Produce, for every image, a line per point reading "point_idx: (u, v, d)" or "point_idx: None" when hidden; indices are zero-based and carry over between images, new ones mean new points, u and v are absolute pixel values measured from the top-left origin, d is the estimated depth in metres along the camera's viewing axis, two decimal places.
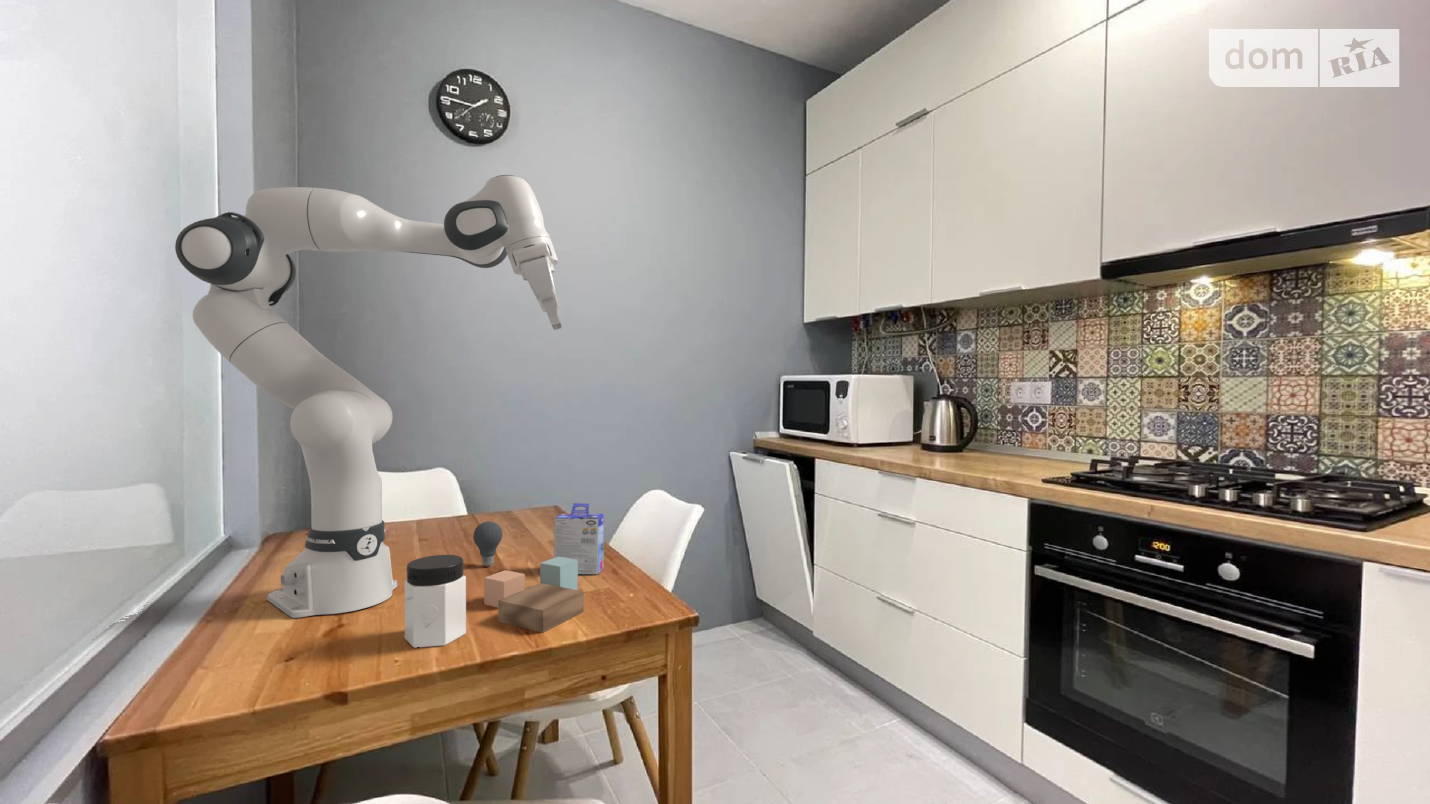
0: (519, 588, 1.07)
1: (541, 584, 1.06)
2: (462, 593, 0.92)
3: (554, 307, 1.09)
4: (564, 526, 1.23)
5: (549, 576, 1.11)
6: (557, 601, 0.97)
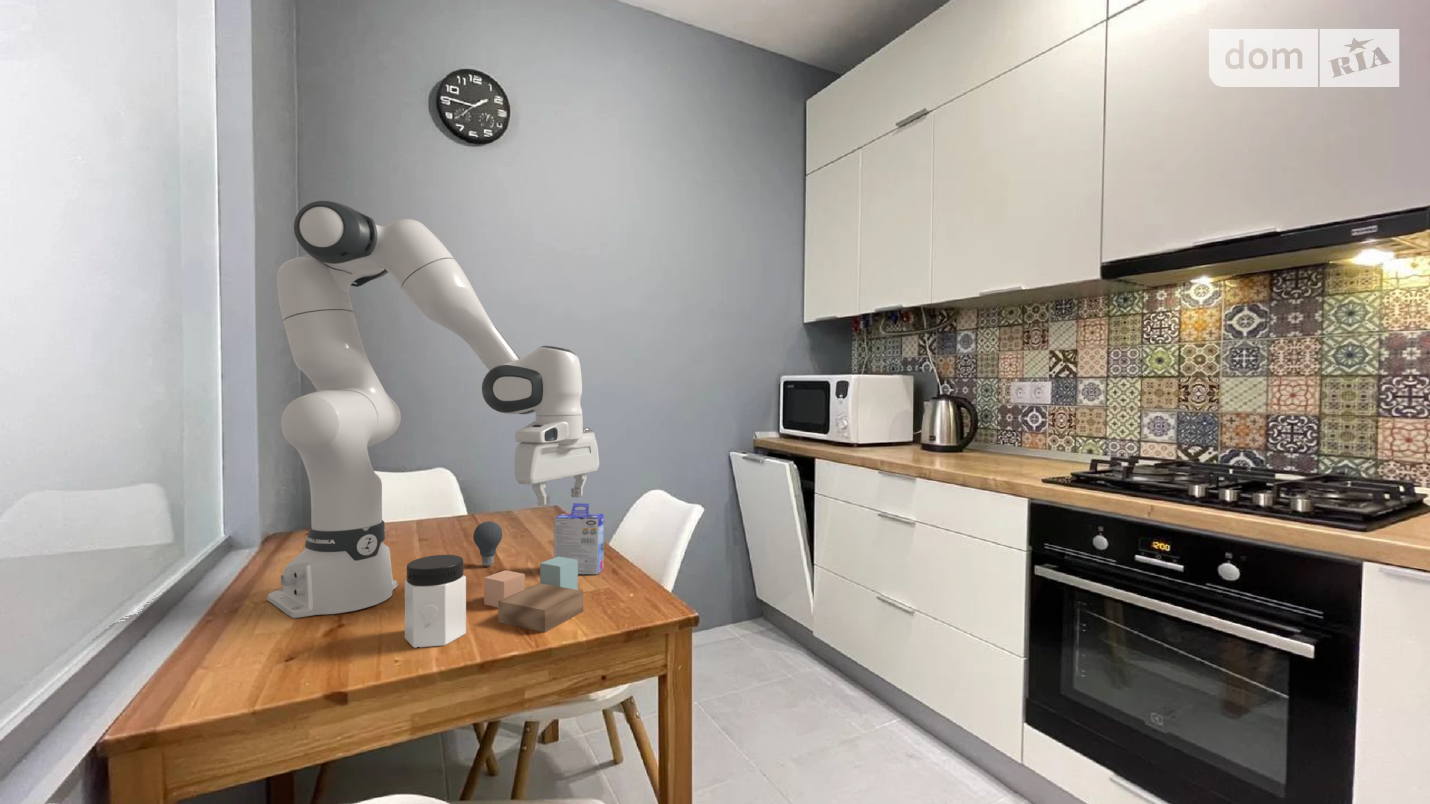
0: (519, 588, 1.07)
1: (540, 584, 1.06)
2: (462, 593, 0.92)
3: (540, 491, 1.07)
4: (564, 526, 1.23)
5: (548, 576, 1.11)
6: (558, 601, 0.98)
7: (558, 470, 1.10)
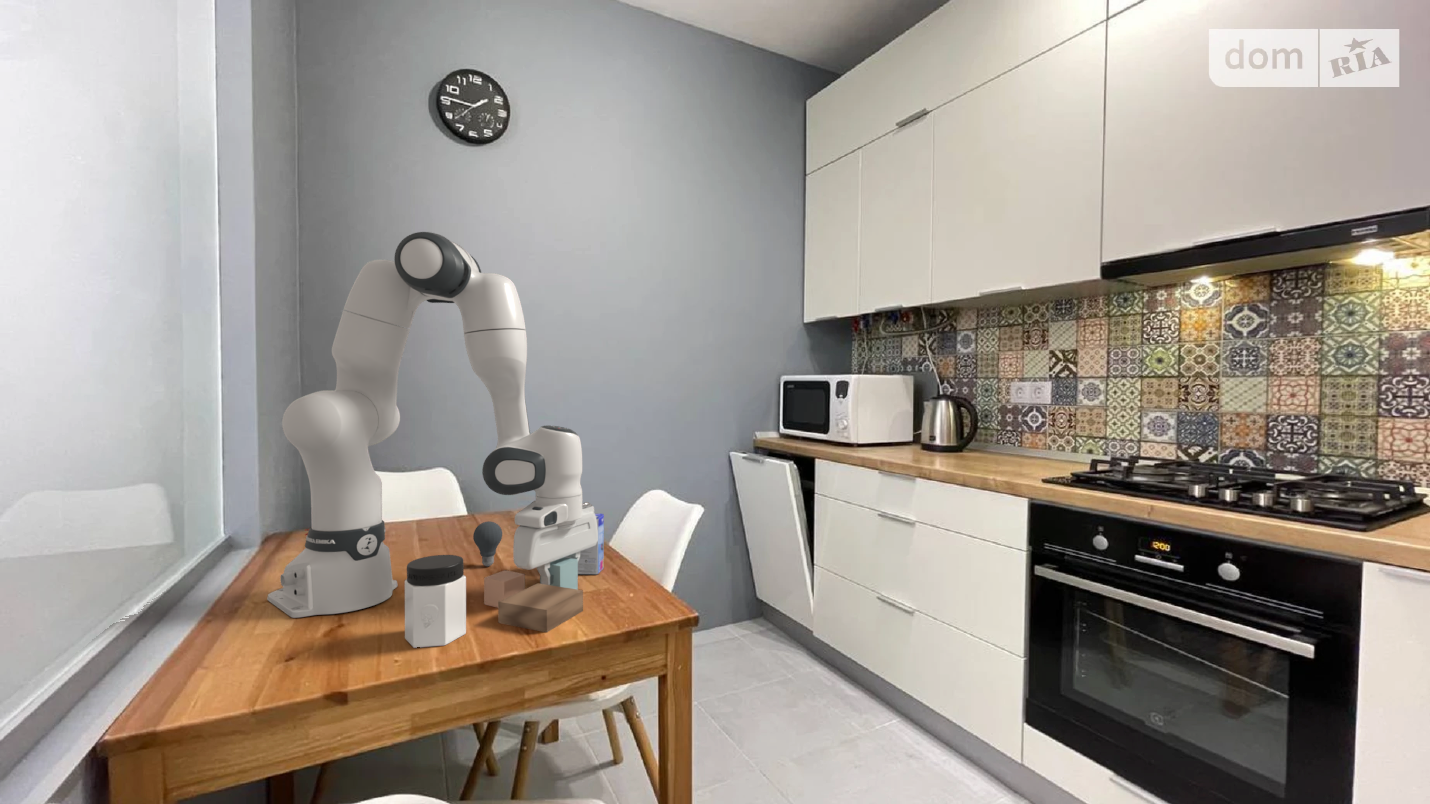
0: (519, 588, 1.07)
1: (538, 584, 1.06)
2: (462, 593, 0.92)
3: (544, 572, 1.08)
4: None
5: None
6: (559, 601, 0.98)
7: (557, 551, 1.10)
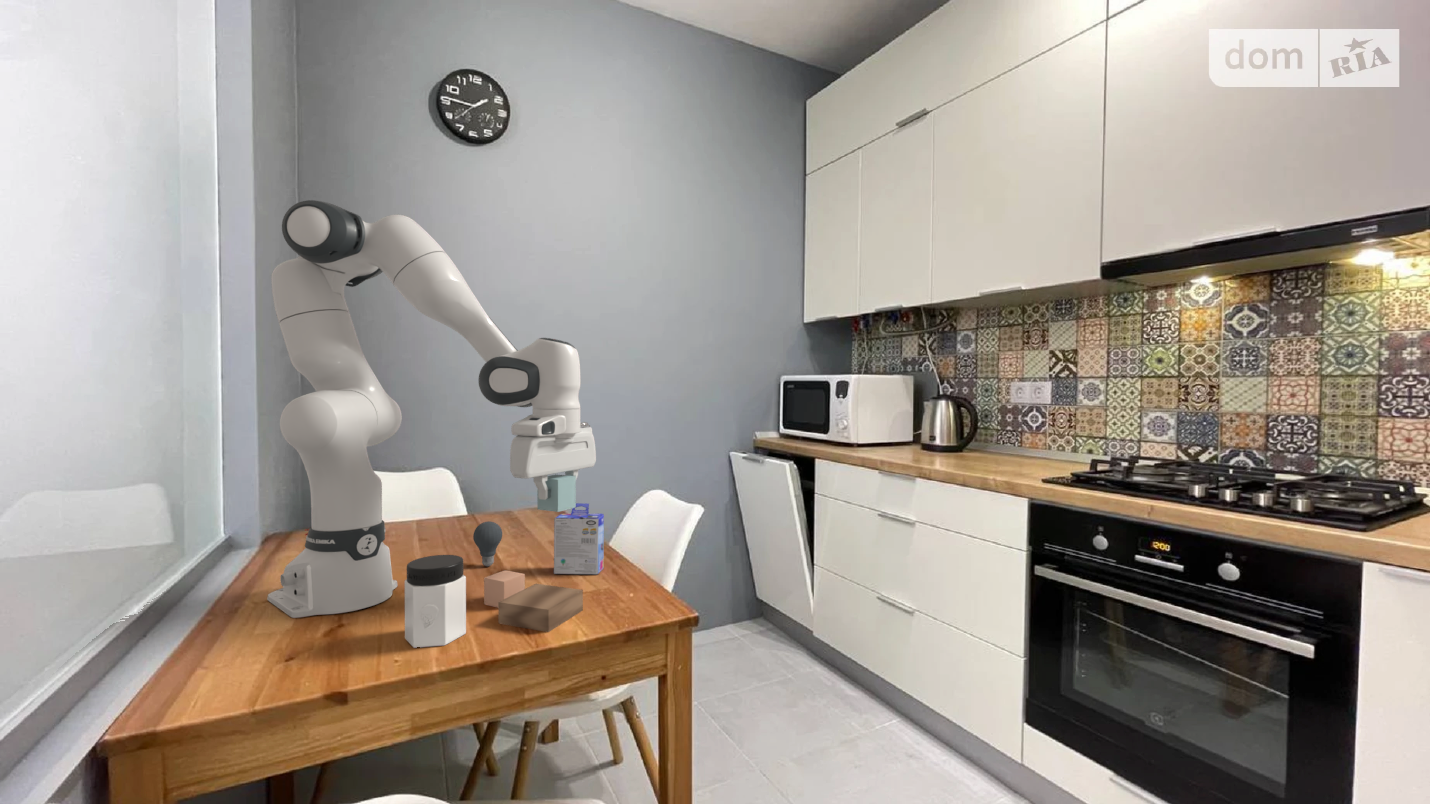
0: (519, 588, 1.07)
1: (537, 584, 1.06)
2: (462, 593, 0.92)
3: (542, 485, 1.06)
4: (564, 526, 1.23)
5: None
6: (560, 601, 0.98)
7: (555, 464, 1.08)
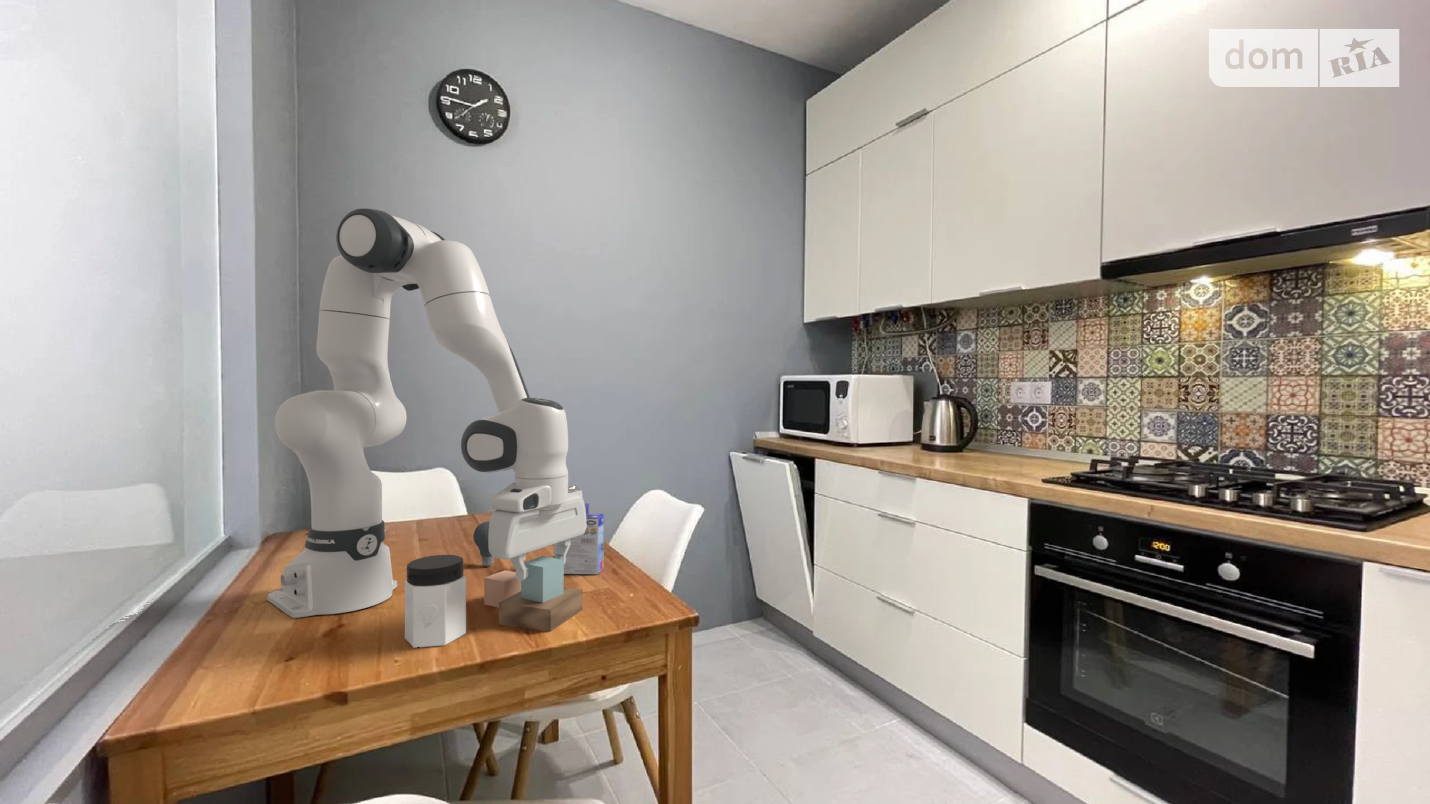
0: (519, 588, 1.07)
1: None
2: (462, 593, 0.92)
3: (519, 564, 0.95)
4: None
5: (530, 578, 0.98)
6: (561, 601, 0.98)
7: (539, 539, 0.97)
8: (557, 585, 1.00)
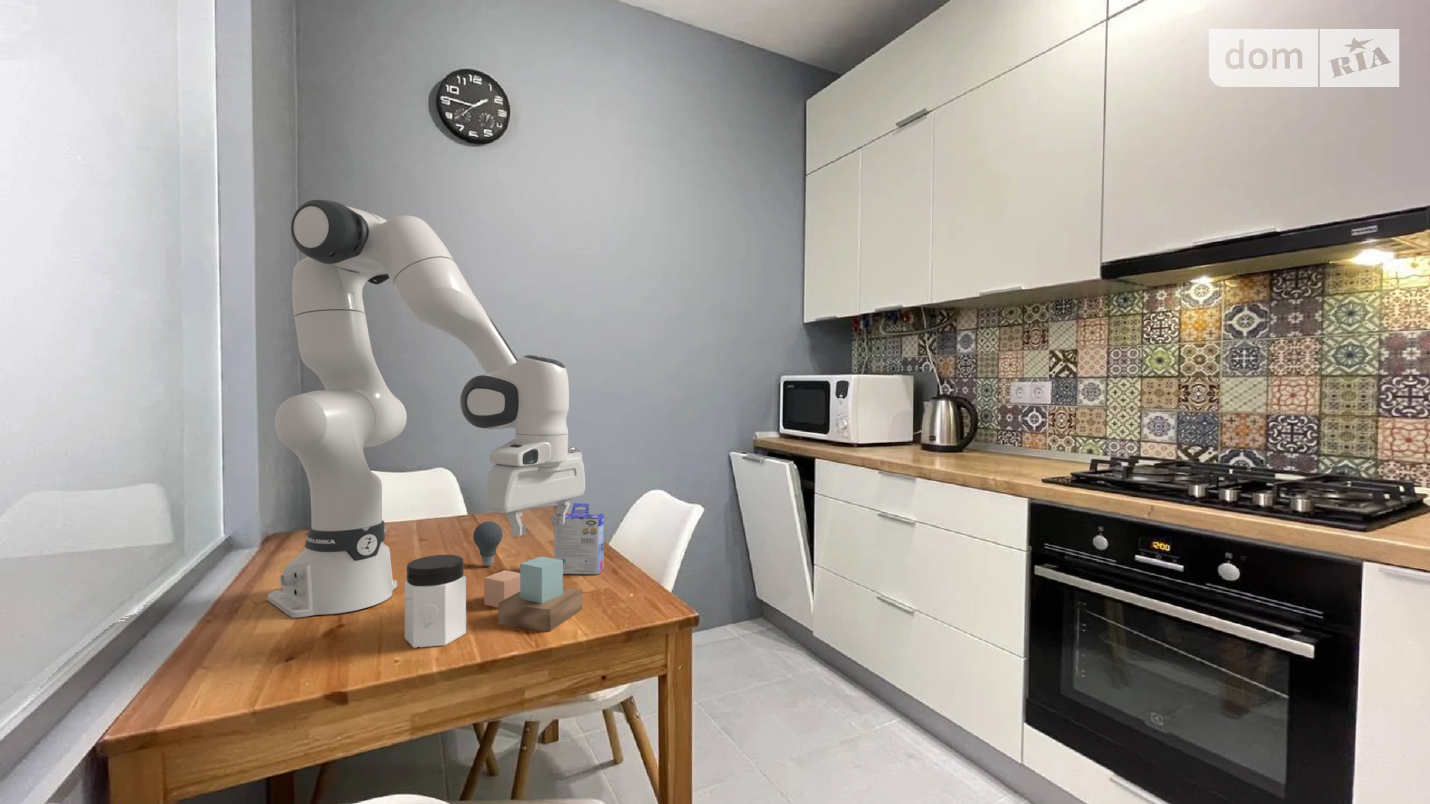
0: (519, 588, 1.07)
1: None
2: (462, 593, 0.92)
3: (516, 520, 0.94)
4: (564, 526, 1.23)
5: (529, 579, 0.98)
6: (560, 600, 0.98)
7: (538, 496, 0.97)
8: (556, 586, 1.00)
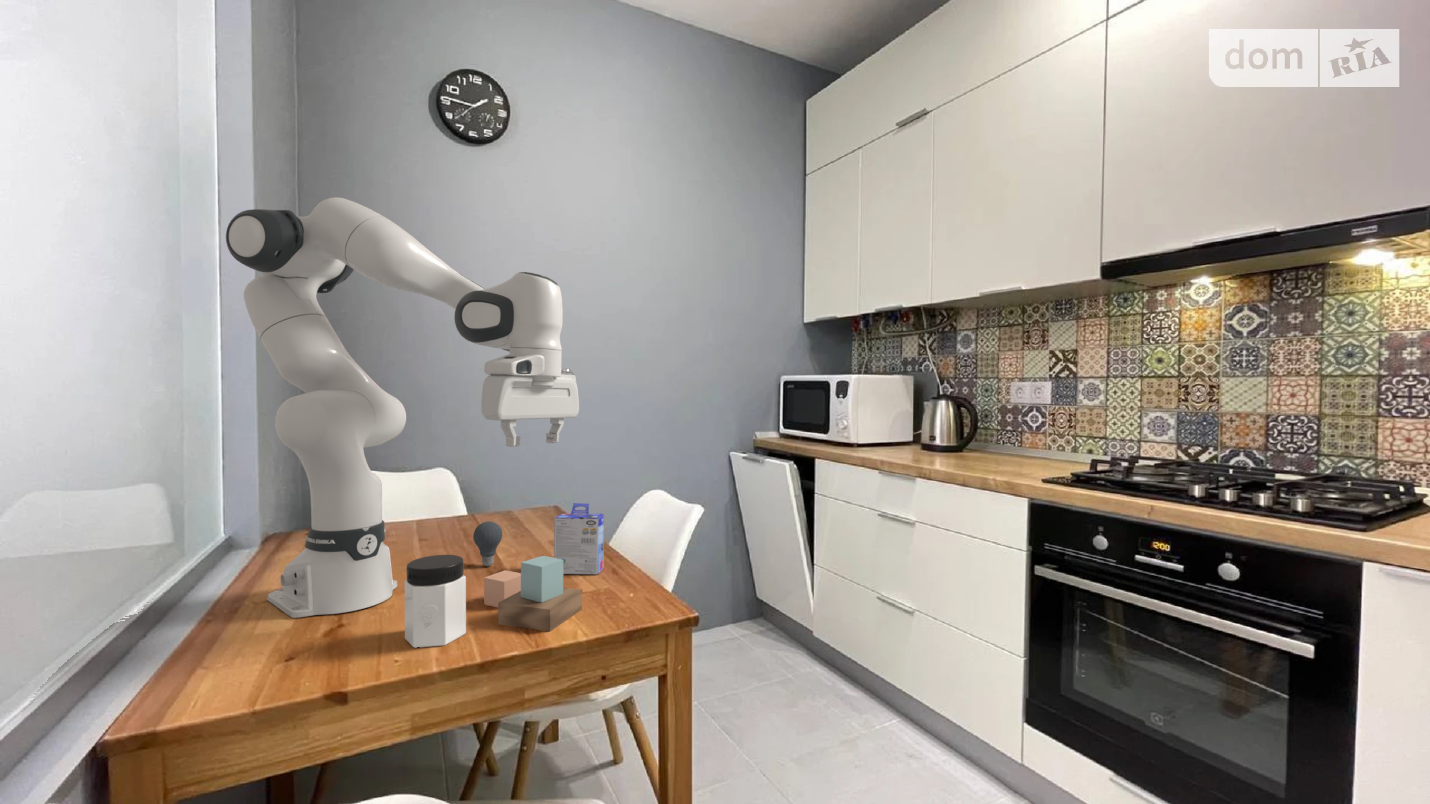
0: (519, 588, 1.07)
1: None
2: (462, 593, 0.92)
3: (509, 430, 0.96)
4: (564, 526, 1.23)
5: (530, 578, 0.99)
6: (560, 601, 0.98)
7: (531, 409, 0.99)
8: (556, 585, 1.00)
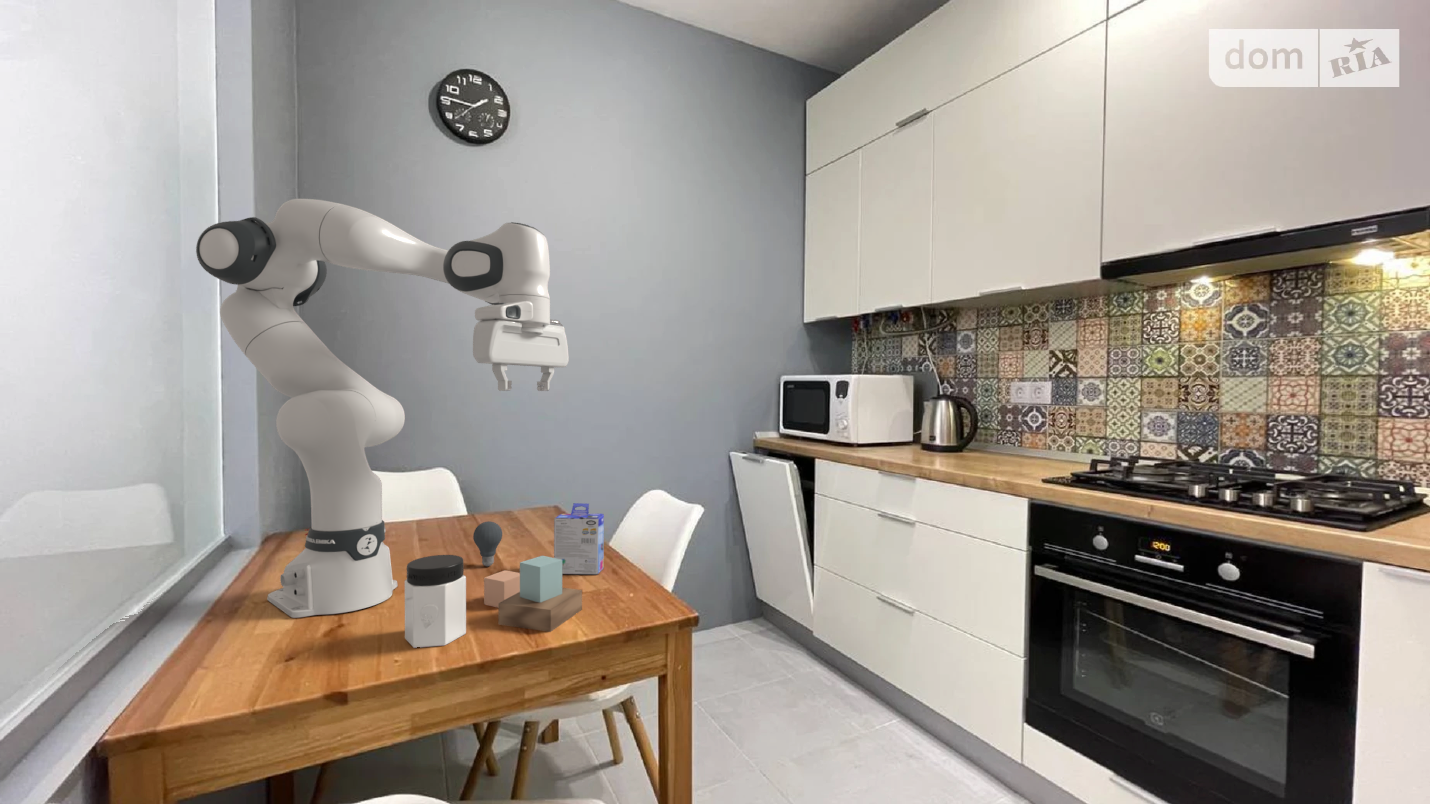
0: (519, 588, 1.07)
1: None
2: (462, 593, 0.92)
3: (501, 374, 1.00)
4: (564, 526, 1.23)
5: (528, 578, 0.99)
6: (560, 601, 0.98)
7: (522, 354, 1.02)
8: (555, 585, 1.00)
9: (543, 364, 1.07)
